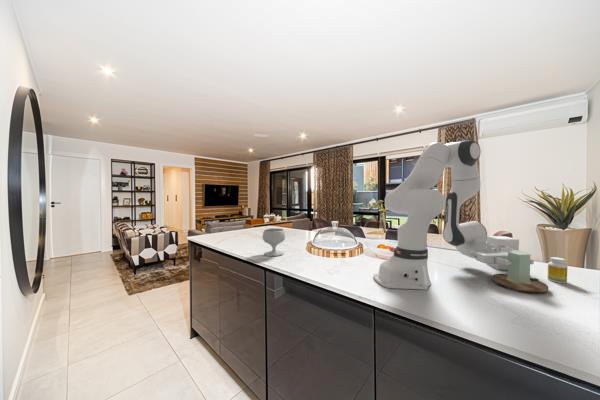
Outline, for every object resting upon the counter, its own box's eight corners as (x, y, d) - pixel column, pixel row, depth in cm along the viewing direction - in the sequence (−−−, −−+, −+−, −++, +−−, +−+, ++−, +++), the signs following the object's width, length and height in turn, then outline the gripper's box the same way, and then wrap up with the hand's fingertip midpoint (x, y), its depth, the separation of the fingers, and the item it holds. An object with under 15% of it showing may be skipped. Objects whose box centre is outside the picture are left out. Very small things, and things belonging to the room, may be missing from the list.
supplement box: (519, 271, 106) (520, 239, 105) (497, 269, 108) (498, 238, 107) (505, 265, 115) (506, 236, 114) (485, 264, 116) (486, 235, 116)
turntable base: (520, 293, 82) (520, 291, 82) (488, 280, 95) (488, 278, 95) (552, 292, 83) (552, 290, 83) (516, 278, 96) (516, 277, 96)
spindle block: (519, 283, 87) (519, 254, 86) (507, 278, 91) (508, 251, 91) (529, 282, 87) (530, 254, 87) (517, 278, 91) (518, 251, 91)
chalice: (258, 253, 139) (258, 229, 138) (276, 250, 148) (276, 227, 148) (271, 258, 129) (271, 232, 128) (290, 254, 138) (289, 229, 138)
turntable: (521, 293, 80) (521, 288, 80) (481, 276, 96) (481, 272, 96) (561, 291, 82) (561, 286, 82) (516, 275, 98) (516, 271, 98)
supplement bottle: (546, 277, 97) (547, 255, 97) (565, 280, 94) (565, 258, 94) (548, 281, 93) (549, 258, 93) (568, 284, 90) (569, 261, 90)
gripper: (467, 247, 101) (496, 255, 87) (509, 246, 102) (544, 254, 89) (467, 260, 101) (496, 271, 87) (509, 259, 103) (544, 269, 89)
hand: (521, 262), depth 88 cm, fingers open, 8 cm apart
